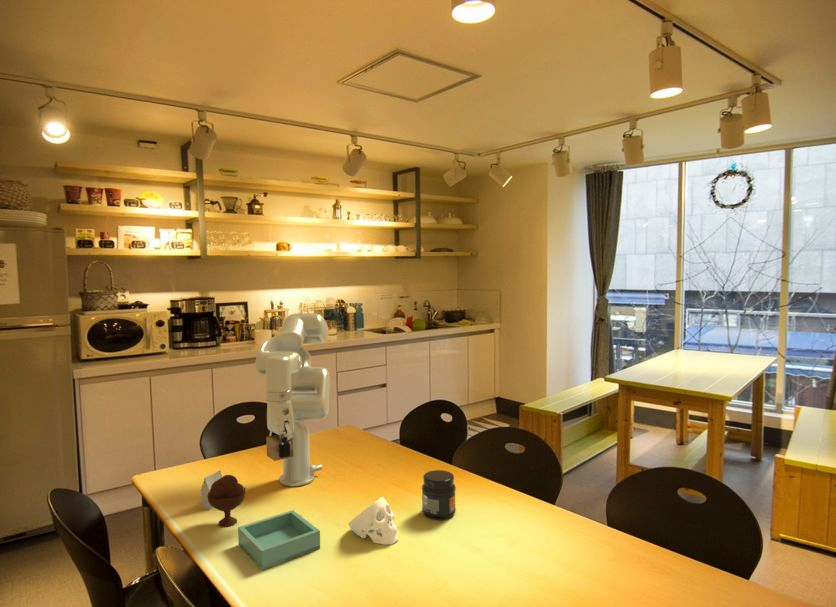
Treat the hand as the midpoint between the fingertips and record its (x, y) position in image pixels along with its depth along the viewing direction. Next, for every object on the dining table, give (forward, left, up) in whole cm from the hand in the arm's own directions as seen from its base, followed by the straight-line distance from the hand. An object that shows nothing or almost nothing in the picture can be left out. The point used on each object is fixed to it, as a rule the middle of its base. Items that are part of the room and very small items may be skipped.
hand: (280, 453), depth 162 cm
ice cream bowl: (+14, -6, -20) cm, 25 cm away
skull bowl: (-15, +29, -20) cm, 38 cm away
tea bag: (+13, -22, -20) cm, 33 cm away
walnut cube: (0, 0, -1) cm, 1 cm away
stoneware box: (+8, +17, -20) cm, 27 cm away
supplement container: (-39, +30, -20) cm, 53 cm away
